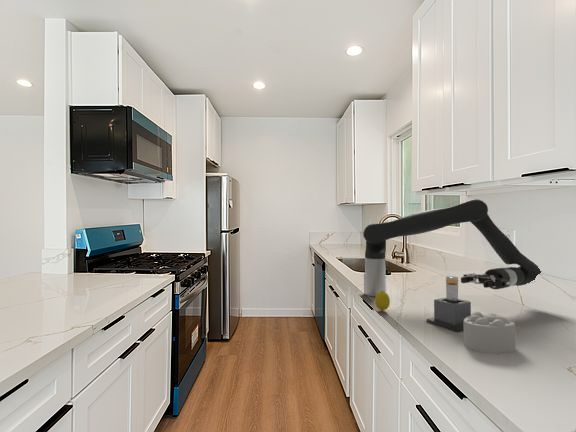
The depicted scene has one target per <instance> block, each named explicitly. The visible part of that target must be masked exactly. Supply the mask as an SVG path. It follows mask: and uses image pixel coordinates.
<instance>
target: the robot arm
mask: <svg viewBox="0 0 576 432" xmlns="http://www.w3.org/2000/svg"><path fill="white" fill-rule="evenodd" d="M488 212H489V207H488V205H487V203H486V202H484V200H481V199H477V198H473V199H469V200H467V201H465V202H461V203H458V204H455V205H453V206H450V207H449V206H448V207H444V208H443V207H442V208H435V209H428V210H424V211H419V212H415V213H411V214H408V215H406V216H403V217H401V218H400V217H399V218H397V219H395V220H391V221H387V222H379V223H370V224H368V225H367V226H366V227H365V228H364V230H363V238H364V240H365V250H364V269H365V272H364V274H363V294H365V295H366V296H368V297H376V295H377V293H379V292H381V291H384V292H385V293H387V289H386V287H387V286H386V284H387V283H386V282H387V280H386V279H387V277H386V275H387V273H386V252H387V240H390V239H393V238H399V237H407V236H413V235H420V234H424V233H429V232H432V231H436V230H440V229H443V228H446V227H448V226H452V225H456V224H462V223H471V224H472V225H473V226H474V227H475V228H476V229H477V230H478V231H479V232H480V233H481V234H482V236H483V238H485V239H486V241H487V242H488V243H489V246H491V248H492V249H493V251H494V252H495V253H496V255H497V256H498V257H499V258H500V260H501V261H502V262H503V263H504V264H505V265H507V266H508V265H518V266H517V267H516V266H509V267H498V268H497V267H496V268H490V269H488V270H486V271H485V272H484V273H481V274H480V273H479V274H477V273H475V272H473V273H466V274H463V276H461V277H460V282H461V284H467V283H469V284H470V283H473V284H475V285H482V286H483V288H489V289H492V290H500V289H507V288H510V287H514V286H515V287H516V286H517V287H519V286H524V285H525V286H526V285H527V283H528V284H531V283H532V282H531V281H533V280H535V278H536V276H537V275H538V274H540V273H541V272H542V270H541V271H540V269H541V268H540V267H539V265H538V264H536V263H535V262H533V261H532V260H531V259H529V258H528V257H527V256H525V255H524V254H523V253H521V252H520V250H519V249H518V248H517V247H516V246H515V244H514V243H513V242H512V240H510V238H509V237H507V235H505V233H504V232H503V231H501V230H500V228H499V227H498V226H497V225H496V223H494V222H493V220H492V219H491V218H490V215H489V214H488ZM538 267H539V268H540V269H539V268H538ZM530 282H531V283H530Z"/></svg>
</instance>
